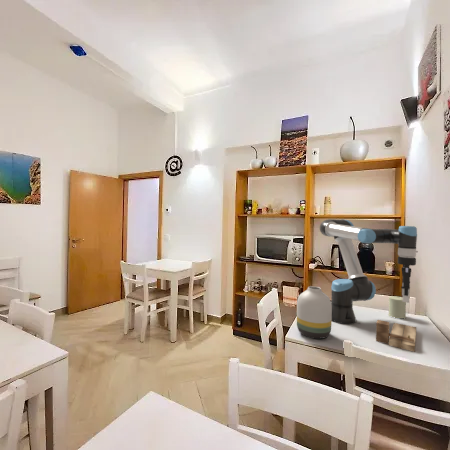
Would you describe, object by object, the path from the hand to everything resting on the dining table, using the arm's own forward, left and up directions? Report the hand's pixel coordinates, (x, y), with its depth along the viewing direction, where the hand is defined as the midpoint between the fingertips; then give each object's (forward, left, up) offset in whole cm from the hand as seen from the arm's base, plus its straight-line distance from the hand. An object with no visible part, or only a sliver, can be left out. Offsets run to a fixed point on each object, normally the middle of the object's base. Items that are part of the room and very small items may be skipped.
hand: (405, 298), depth 133 cm
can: (-6, +35, -20) cm, 41 cm away
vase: (-37, -25, -20) cm, 49 cm away
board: (-1, -1, -20) cm, 20 cm away
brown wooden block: (-3, -11, -20) cm, 23 cm away
